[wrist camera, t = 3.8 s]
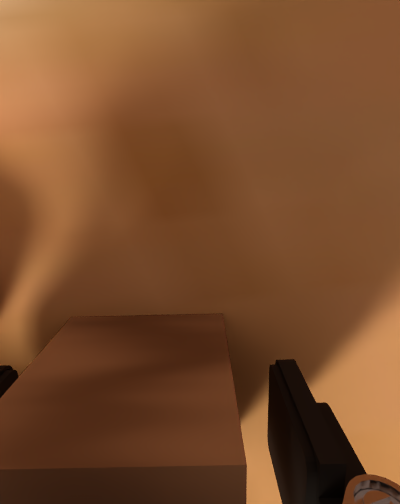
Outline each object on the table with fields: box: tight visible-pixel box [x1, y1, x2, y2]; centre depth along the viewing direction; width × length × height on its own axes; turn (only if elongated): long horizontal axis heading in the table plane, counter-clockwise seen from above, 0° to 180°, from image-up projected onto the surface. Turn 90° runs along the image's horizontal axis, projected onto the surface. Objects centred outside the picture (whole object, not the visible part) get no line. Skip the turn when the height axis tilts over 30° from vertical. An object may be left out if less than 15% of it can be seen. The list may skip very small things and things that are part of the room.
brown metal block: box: [0, 314, 247, 504], centre depth 9 cm, size 5×5×6 cm
